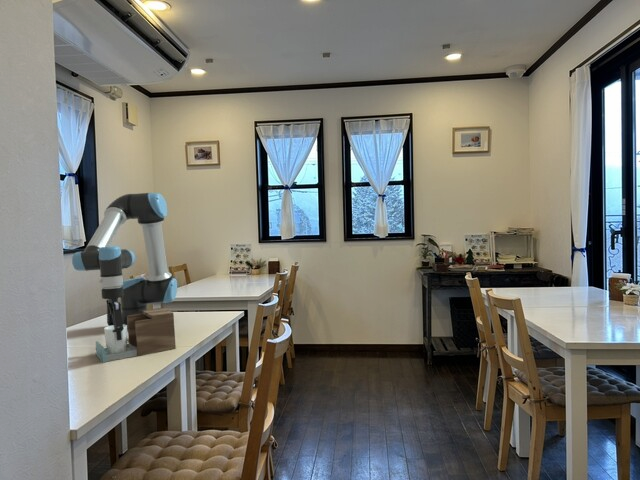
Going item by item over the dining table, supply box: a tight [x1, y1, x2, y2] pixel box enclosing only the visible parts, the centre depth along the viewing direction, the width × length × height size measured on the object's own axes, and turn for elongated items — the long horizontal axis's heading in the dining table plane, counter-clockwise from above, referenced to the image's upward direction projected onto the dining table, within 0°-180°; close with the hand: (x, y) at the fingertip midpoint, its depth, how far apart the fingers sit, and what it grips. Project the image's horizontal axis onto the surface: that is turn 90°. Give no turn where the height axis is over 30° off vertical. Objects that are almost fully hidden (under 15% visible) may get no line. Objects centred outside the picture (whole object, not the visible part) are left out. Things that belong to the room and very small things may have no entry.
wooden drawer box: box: [127, 307, 177, 357], centre depth 179 cm, size 15×14×14 cm
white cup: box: [103, 325, 128, 355], centre depth 171 cm, size 8×8×10 cm
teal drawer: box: [95, 341, 138, 364], centre depth 173 cm, size 14×13×5 cm
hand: (116, 345), depth 172 cm, fingers open, 10 cm apart
